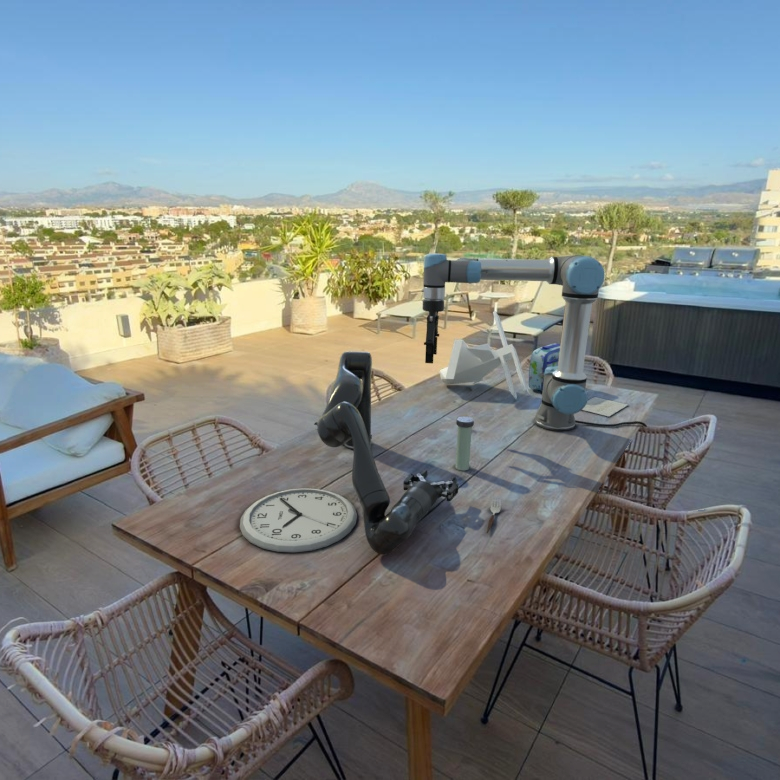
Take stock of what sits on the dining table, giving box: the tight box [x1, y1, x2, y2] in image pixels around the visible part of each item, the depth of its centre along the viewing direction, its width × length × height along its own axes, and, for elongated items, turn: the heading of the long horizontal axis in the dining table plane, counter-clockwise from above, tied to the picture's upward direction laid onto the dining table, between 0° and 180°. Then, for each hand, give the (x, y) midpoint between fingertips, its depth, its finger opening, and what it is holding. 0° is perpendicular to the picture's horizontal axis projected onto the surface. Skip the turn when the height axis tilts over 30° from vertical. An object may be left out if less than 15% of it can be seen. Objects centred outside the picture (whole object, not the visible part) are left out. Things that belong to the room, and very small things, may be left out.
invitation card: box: [581, 396, 629, 418], centre depth 226 cm, size 21×1×15 cm
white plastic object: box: [438, 310, 531, 400], centre depth 245 cm, size 37×45×31 cm
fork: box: [486, 498, 503, 534], centre depth 137 cm, size 3×16×2 cm, turn 160°
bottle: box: [455, 425, 473, 472], centre depth 164 cm, size 4×4×16 cm
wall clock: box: [239, 487, 358, 553], centre depth 136 cm, size 30×2×30 cm
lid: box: [455, 416, 475, 428], centre depth 162 cm, size 5×5×2 cm
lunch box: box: [528, 343, 561, 392], centre depth 249 cm, size 26×11×21 cm, turn 134°
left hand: (440, 475), depth 148 cm, fingers open, 8 cm apart
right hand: (431, 358), depth 189 cm, fingers open, 13 cm apart
